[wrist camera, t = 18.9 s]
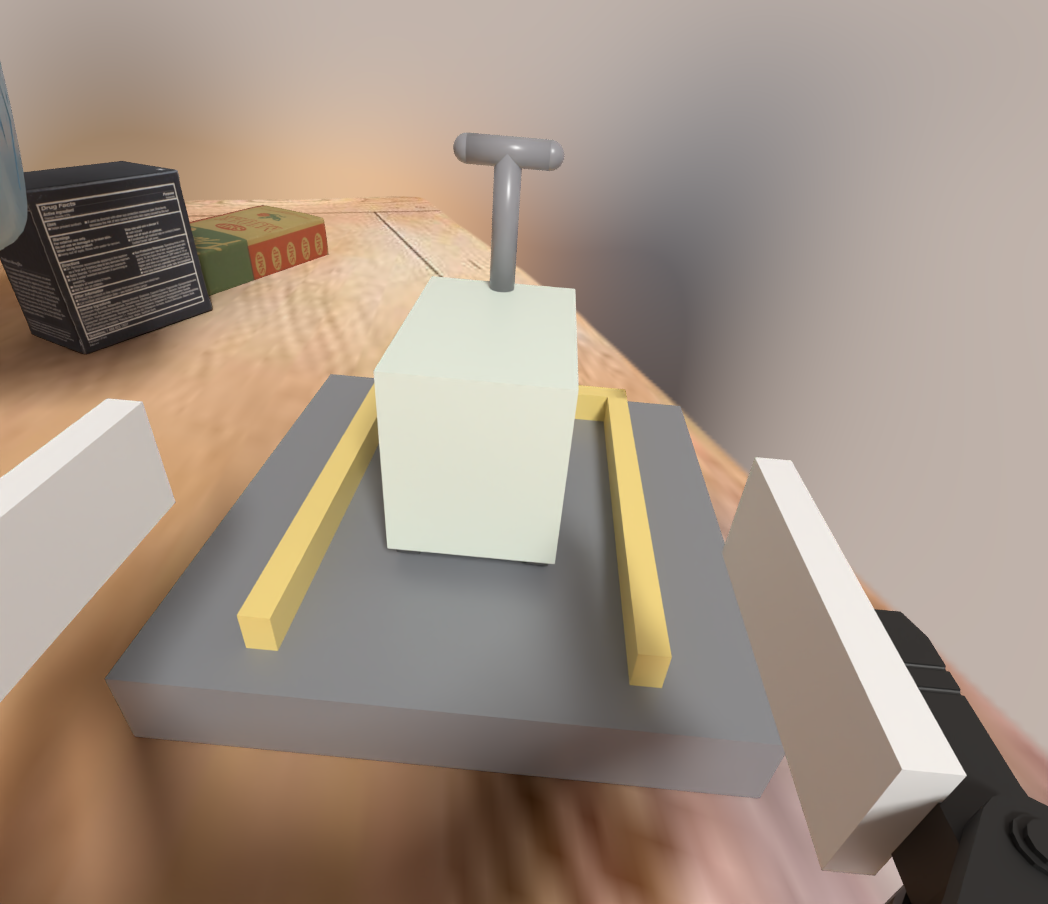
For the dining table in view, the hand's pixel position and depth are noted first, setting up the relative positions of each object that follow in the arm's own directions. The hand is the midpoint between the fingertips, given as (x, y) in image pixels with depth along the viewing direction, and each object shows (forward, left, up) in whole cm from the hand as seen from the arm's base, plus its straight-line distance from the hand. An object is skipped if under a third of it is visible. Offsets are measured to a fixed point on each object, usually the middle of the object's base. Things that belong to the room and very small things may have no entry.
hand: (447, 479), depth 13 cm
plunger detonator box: (-7, +7, -8) cm, 12 cm away
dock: (-7, +7, -11) cm, 15 cm away
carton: (-52, +13, -12) cm, 55 cm away
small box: (-43, +1, -11) cm, 44 cm away
